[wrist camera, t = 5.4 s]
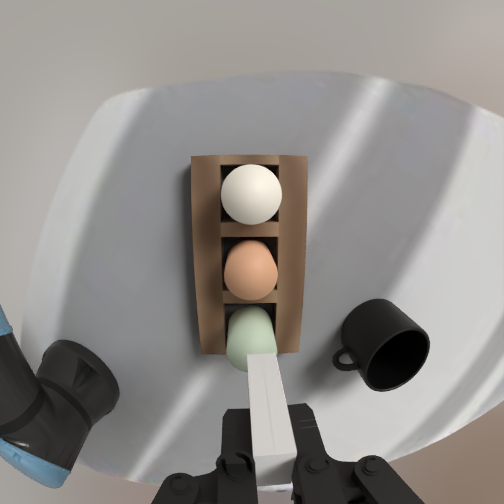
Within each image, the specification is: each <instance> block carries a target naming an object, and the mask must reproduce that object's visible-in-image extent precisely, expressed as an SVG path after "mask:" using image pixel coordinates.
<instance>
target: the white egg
mask: <svg viewBox="0 0 504 504" xmlns="http://www.w3.org/2000/svg"><path fill="white" fill-rule="evenodd" d="M281 199H282V190H281V186H280V183H279V181H278V179H277V178H276V176H275V175H274V174H273V173H272V172H271V171H270V170H268V169H267V168H265V167H263V166H260V165H253V164H249V165H243V166H240V167H238V168H236V169H235V170H233V171H232V172H231V173H230V174H229V175H228V176H227V177H226V179H225V180H224V182H223V185H222V189H221V200H222V204H223V207H224V209H225V210H226V212H227V213H228V214H229V215H230V216H231V217H232V218H233V219H234V220H236V221H238V222H240V223H243V224H249V225H254V224H260V223H263V222H265V221H267V220H268V219H270V218H271V217H272V216H273V215H274V214H275V213H276V211H277V210H278V208H279V206H280V203H281Z"/></svg>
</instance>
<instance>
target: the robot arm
mask: <svg viewBox="0 0 504 504" xmlns="http://www.w3.org/2000/svg"><path fill="white" fill-rule="evenodd" d="M12 331H13V329H12V326H10V325H9V323H8V321H7V319H6V316H5V314H4V312H3V310H2V307H1V305H0V456H1V457H2V458H3V459H4V460H5V461H7V462H8V463H9V464H11V465H12V466H13V467H14V468H16V469H17V470H19V471H20V472H22V473H23V474H25V475H26V476H28V477H29V478H31V479H33V480H34V481H36V482H38V483H40V484H42V485H44V486H47V487H50V488H59V487H61V486H62V485H63V483H64V481H65V480H66V478H67V476H68V475H69V474H70V473H71V470H72V468H73V465H74V463H75V461H76V459H77V457H78V455H79V452H80V450H81V448H82V446H83V444H84V442H85V440H86V438H87V436H88V433H89V432H90V430H91V428H92V426H93V425H94V424H95V423H97V422H98V421H99V420H100V419H101V418H102V417H103V416H105V415H107V414H108V413H110V412H111V411H112V410H113V409H114V407H115V405H116V403H117V401H118V399H119V387H118V384H117V382H116V379H115V377H114V376H113V374H112V372H111V371H110V370H109V368H108V367H107V366H106V365H105V364H104V362H103V361H102V360H101V359H100V358H99V357H97V356H96V355H95V354H94V353H93V352H91V351H90V350H88V349H87V348H85V347H84V346H82V345H80V344H78V343H75V342H73V341H69V340H58V341H56V342H54V343H53V344H52V345H51V346H50V347H49V348H48V349H47V350H46V351H45V352H44V354H43V357H42V363H41V365H40V367H39V369H38V371H37V374H36V376H35V374H34V373H33V371H32V369H31V368H30V366H29V364H28V362H27V360H26V359H25V357H24V355H23V353H22V351H21V349H20V347H19V345H18V343H17V341H16V339H15V337H14V334H13V332H12ZM247 364H248V387H249V405H250V408H248V409H228V410H227V411H226V413H225V414H224V416H223V423H222V445H221V455H220V456H219V457H218V458H217V461H216V467H217V468H216V469H215V470H214V471H212V472H211V473H208V474H204V475H200V476H195V477H193V476H191V475H189V474H186V473H175V474H172V475H170V476H168V477H167V478H166V479H165V480H164V481H163V483H162V485H161V487H160V489H159V490H158V492H157V494H156V496H155V498H154V500H153V501H152V503H151V504H258V497H257V486H269V485H280V484H289V483H291V481H292V483H293V492H292V496H291V500H294V504H424V502H423V501H422V500H421V499H420V498H419V497H418V496H417V495H416V494H415V493H414V492H413V491H412V489H411V488H410V487H409V486H408V485H407V484H406V483H405V482H404V481H403V480H402V479H401V477H400V476H399V475H398V474H397V473H396V472H395V471H394V470H393V469H392V467H391V466H390V465H389V464H388V463H387V462H386V461H385V460H384V459H383V458H381V457H379V456H376V455H369V456H365V457H363V458H361V459H360V460H358V462H342V461H337V460H334V459H333V458H331V457H330V456H329V455H328V454H327V453H326V451H325V448H324V445H323V442H322V438H321V435H320V432H319V429H318V427H317V423H316V420H315V416H314V413H313V410H312V409H311V408H310V407H309V406H308V405H307V404H306V403H303V404H294V405H287V403H286V399H285V394H284V389H283V385H282V380H281V376H280V371H279V366H278V362H277V357H276V353H267V354H247Z"/></svg>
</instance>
